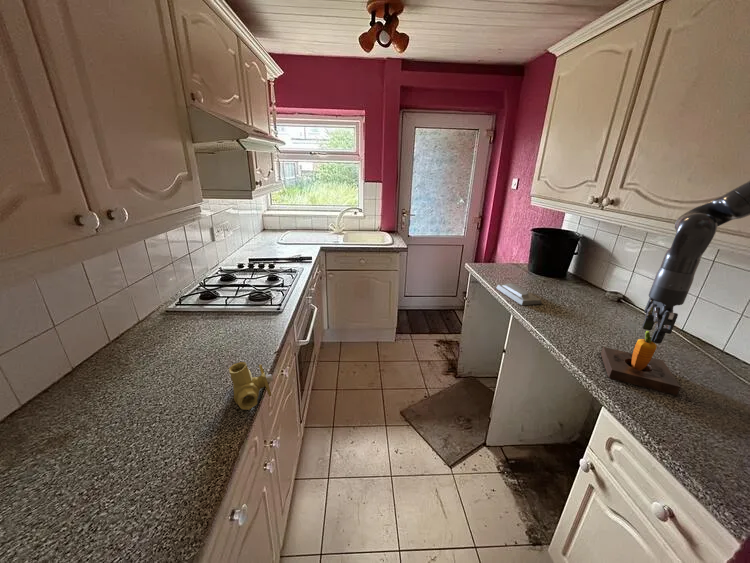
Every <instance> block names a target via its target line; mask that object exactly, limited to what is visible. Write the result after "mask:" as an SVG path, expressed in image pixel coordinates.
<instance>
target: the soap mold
mask: <svg viewBox="0 0 750 563" xmlns="http://www.w3.org/2000/svg"><path fill="white" fill-rule="evenodd" d="M495 289H496V290H498V291H500V292H501V293H503V295H505V296H507V297H509V298H510V299H511V300H513V301H514V302H516V303H517V304H519V305H520V306H530V305H541V304H542V299H541V298H539V297H537V296H535V295H534V294H532V293H530V292H529V291H528V290H527V289H524V288H523V287H521V286H519V284H516V283H513V282H508V283H501V284H499V283H498V284H497V286H496V288H495Z"/></svg>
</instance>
